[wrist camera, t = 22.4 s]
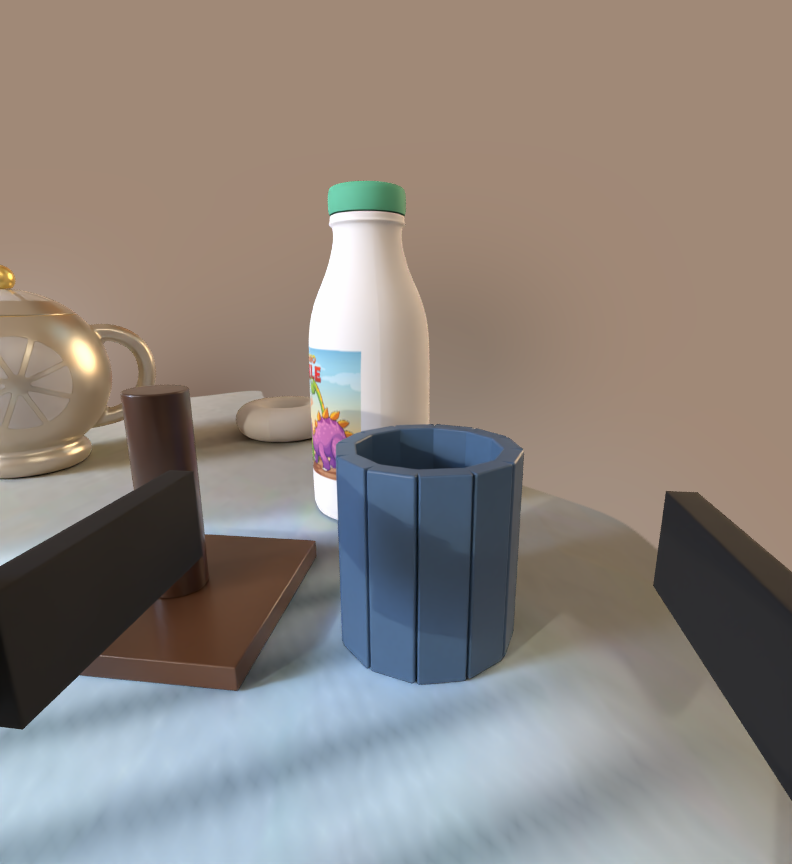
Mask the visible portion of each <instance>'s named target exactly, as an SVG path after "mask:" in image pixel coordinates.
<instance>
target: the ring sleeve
mask: <svg viewBox="0 0 792 864" xmlns="http://www.w3.org/2000/svg"><path fill="white" fill-rule="evenodd" d="M523 461H524V451H523V449H522V448H521V447H520V446H519V445H517V444H516V443H515V442H514V441H512V440H511V439H510V438H507V437H506V436H503V435H499V434H496V433H492V432H488V431H485V430H481V429H477V428H476V429H474V428H472V427H461V426H450V425H440V424H437V425H435V426H434V425H433V424H419V425H396V426H395V427H394V426H388V427H382V428H377V429H371V430H366V431H361V432H358V433H355V434H353V435H351V436H349V437H347V438H345V439H343V440H341V441H339V442H338V443H337V444H336V479H337V508H338V536H339V564H340V593H341V621H342V641H343V642H344V645H345V646H346V647H347V648H348V649H349V650H350V651H351V652H352V653H353V654H354V655H355V657H356V658H357V659H358V660H359V661H360V662H361V663H362V664H363V665H364V666H365V667H366V668H370V667H371V670H372V671H374V672H377V673H381V674H384V675H387V676H390V677H393V678H397V679H400V680H403V681H406V682H410V683H415V681H416V679H417V683H418V684H419V685H420V684H432V683H444V682H455V681H465V680H466V677H467V678H469V679H470V678H472V677H474V676H476V675H477V674H479V673H481V672H482V671H484V670H486V669H487V668H489V667H491V666H492V665H494V664H496V663H498V662H499V661H501V660H502V657H504V656H505V654H506V651H507V648H508V645H509V642H510V639H511V637H512V634H513V627H514V610H515V594H516V577H517V561H518V544H519V528H520V511H521V495H522V478H523Z"/></svg>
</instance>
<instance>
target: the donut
mask: <svg viewBox="0 0 792 864" xmlns="http://www.w3.org/2000/svg"><path fill="white" fill-rule="evenodd" d="M236 422H237V426H238V429H239V430H240V432H241V433H242V434H244V435H245V436H247V437H249V438H252V439H255V440H259V441H267V442H291V441H300V440H305V439H310V438H312V427H311V403H310V397H301V396H282V397H270V398H263V399H258V400H254V401H251V402H248V403H246V404H245V405H243V406H242V407H241V408H240V409H239V410H238V412H237V415H236Z"/></svg>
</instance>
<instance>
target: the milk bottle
mask: <svg viewBox="0 0 792 864" xmlns="http://www.w3.org/2000/svg"><path fill="white" fill-rule="evenodd" d="M405 198H406V197H405V191H404V189H403V188H402V187H400V186H398V185H395V184H391V183H387V182H379V181H353V182H345V183H340V184H337V185H334V186H332V187H331V188H330V189H329V192H328V212H329V215H330V223H329V226H330V227H331V228H332V229H333V246H332V252H331V257H330V261H329V265H328V268H327V271H326V274H325V277H324V279H323V282H322V285H321V287H320V290H319V292H318V295H317V297H316V300H315V303H314V307H313V311H312V315H311V321H310V331H309V375H310V403H311V427H312V449H313V471H314V489H315V501H316V503H317V505H318V507H319V509H320V510H321V511H322V512H323V513H324V514H325V515H327V516H329V517H331V518H334V519H337V520H338V508H337V479H336V444H337V443H338V442H339V441H341V440H343V439H345V438H347V437H349V436H351V435H353V434H355V433H358V432H361V431H366V430H371V429H377V428H382V427H388V426H394V427H395V426H396V425H419V424H429V335H428V326H427V320H426V315H425V311H424V307H423V304H422V301H421V298H420V296H419V293H418V291H417V289H416V286H415V284H414V282H413V279H412V277H411V274H410V271H409V269H408V265H407V262H406V259H405V255H404V251H403V246H402V238H401V237H402V229H403V228H404V227H405V225H406V224H405V223H404V216H405V212H406V199H405Z"/></svg>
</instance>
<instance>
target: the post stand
mask: <svg viewBox="0 0 792 864" xmlns="http://www.w3.org/2000/svg"><path fill="white" fill-rule="evenodd" d="M121 401H122V409H123V416H124V423H125V430H126V437H127V444H128V451H129V458H130V466H131V473H132V480H133V487H134V490H135V489H137V488H139V487H141V486H142V485H144V484H146V483H148V482H149V481H151V480H153V479H155V478H156V477H158V476H160V475H162V474H164V473H165V472H167V471H169V470H177V471H194V479H195V489H196V498H197V507H198V516H199V525H200V534H201V544H202V553H203V556H202V557H201V558H200V559H199V560H198V561H197V562H196V563H195V564H194V565H193V566H192V567H191V568H190V569H189V570H188V571H187V572H186V573H185V574H184V575H183V576H182V577H181V578H180V579H179V580H177V581H176V582H175V583H174V584H173V585H172V586H171V587H170V588H169V589H168V590H167V591H166V592H165V593H164V594H163V595H162V596H161V597H160V598H159V599H158V600H157V601H156V602H155V603H154V604H153V605H152V606H150V607H149V608H148V609H147V610H146V611H145V612H144V613H143V614H142V615H141V616H140V617H139V618H138V619H137V620H136V621H135V622H134V623H133V624H132V625H131V626H130V627H129V628H128V629H127V630H126V631H124V632H123V633H122V634H121V635H120V636H119V637H118V638H117V639H116V640H115V641H114V642H113V643H112V644H111V645H110V646H109V647H108V648H107V649H106V650H105V651H104V652H103V653H102V654H101V655H100V656H98V657H97V658H96V659H95V660H94V661H93V662H92V663H91V664H90V665H89V666H88V667H87V668H86V669H85V670H84V671H83V672H82V673H81V674H80V675H82V676H92V677H102V678H112V679H123V680H133V681H143V682H153V683H163V684H173V685H183V686H193V687H203V688H214V689H224V690H234V691H237V690H238V689H239V688H240V686H241V684H242V682H243V681H244V679H245V677H246V676H247V674H248V672H249V671H250V669H251V667H252V665H253V664H254V662H255V660H256V659H257V657H258V655H259V653H260V652H261V650H262V648H263V647H264V645H265V643H266V641H267V640H268V638H269V636H270V635H271V633H272V631H273V630H274V628H275V626H276V624H277V623H278V621H279V619H280V618H281V616H282V614H283V612H284V611H285V609H286V607H287V606H288V604H289V602H290V601H291V599H292V597H293V595H294V594H295V592H296V590H297V589H298V587H299V585H300V583H301V582H302V580H303V578H304V577H305V575H306V573H307V571H308V570H309V568H310V566H311V565H312V563H313V561H314V560H315V558H316V543H315V541H311V540H294V539H276V538H259V537H242V536H225V535H207V534H205V533H204V523H203V514H202V505H201V495H200V486H199V476H198V467H197V458H196V448H195V439H194V429H193V420H192V411H191V401H190V393H189V388H188V387H186V386H181V385H151V386H142V387H135V388H130V389H126V390H124V391H122V392H121Z"/></svg>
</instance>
